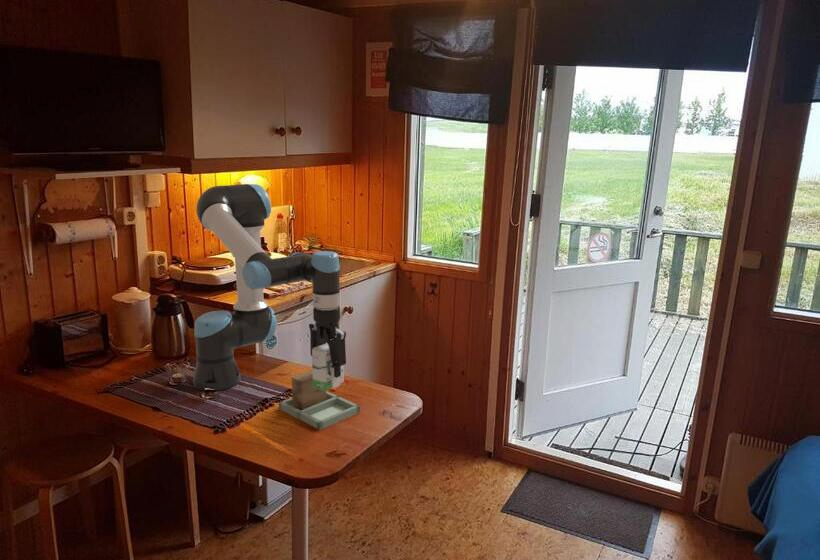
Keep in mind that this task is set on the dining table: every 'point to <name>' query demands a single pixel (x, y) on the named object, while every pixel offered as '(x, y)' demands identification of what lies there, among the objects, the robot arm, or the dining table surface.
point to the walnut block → (306, 391)
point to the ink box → (323, 367)
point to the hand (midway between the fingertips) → (328, 383)
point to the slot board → (322, 411)
